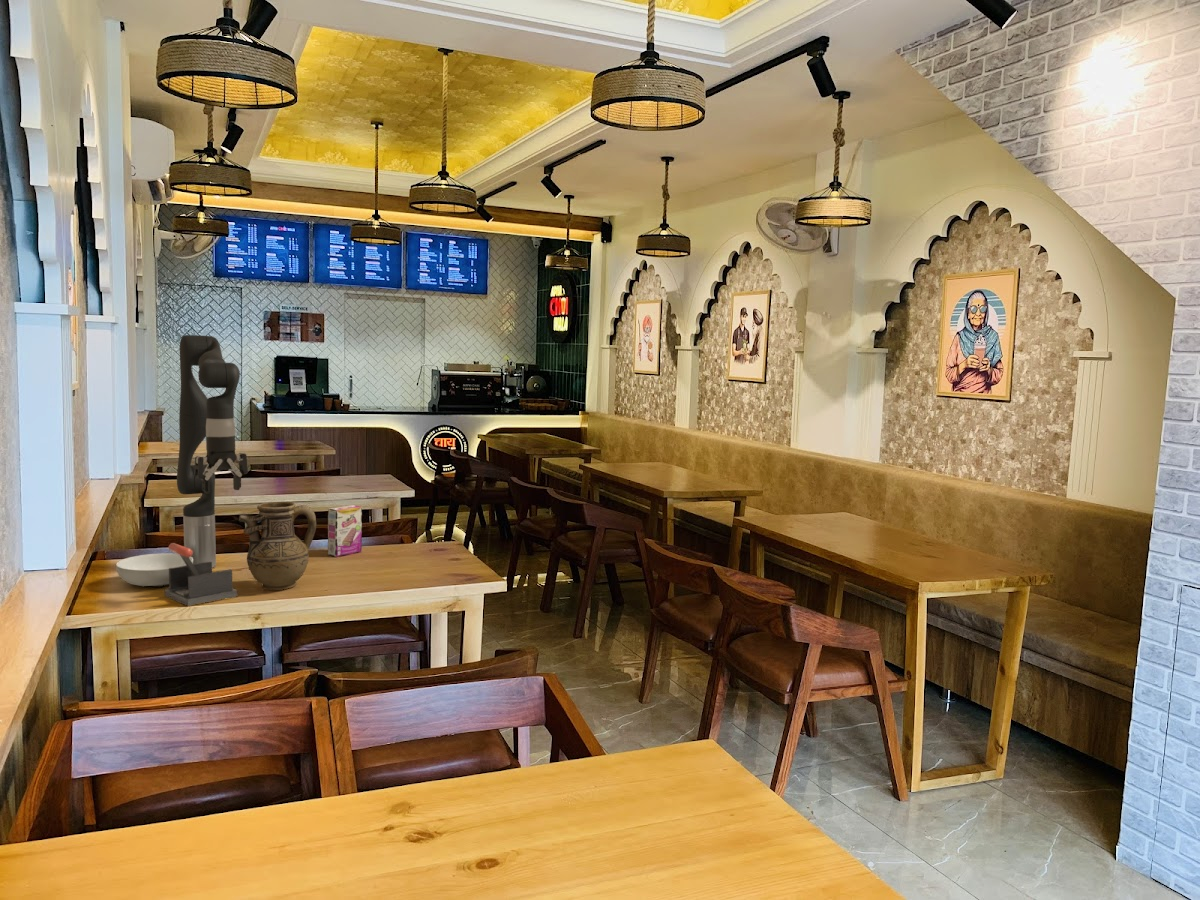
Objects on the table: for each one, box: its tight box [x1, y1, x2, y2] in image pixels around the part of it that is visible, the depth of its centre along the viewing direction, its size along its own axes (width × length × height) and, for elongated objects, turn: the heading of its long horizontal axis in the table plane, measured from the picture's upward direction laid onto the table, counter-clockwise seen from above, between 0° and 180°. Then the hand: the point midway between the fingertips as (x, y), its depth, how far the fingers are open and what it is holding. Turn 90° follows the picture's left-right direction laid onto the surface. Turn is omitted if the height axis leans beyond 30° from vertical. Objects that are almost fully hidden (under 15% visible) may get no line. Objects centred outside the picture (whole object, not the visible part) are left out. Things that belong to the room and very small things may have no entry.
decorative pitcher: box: [238, 501, 317, 591], centre depth 268 cm, size 22×18×25 cm
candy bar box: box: [327, 504, 363, 558], centre depth 313 cm, size 11×5×16 cm, turn 144°
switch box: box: [164, 562, 238, 607], centre depth 257 cm, size 14×15×8 cm
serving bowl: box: [115, 552, 193, 587], centre depth 271 cm, size 21×21×7 cm
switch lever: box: [168, 542, 199, 576], centre depth 255 cm, size 2×10×13 cm, turn 48°
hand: (222, 491), depth 254 cm, fingers open, 8 cm apart
